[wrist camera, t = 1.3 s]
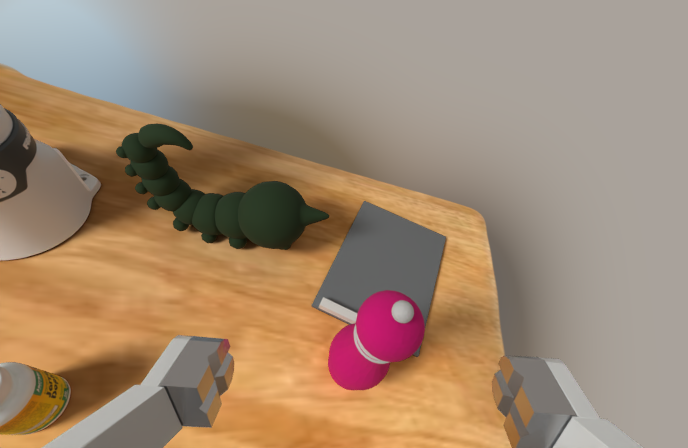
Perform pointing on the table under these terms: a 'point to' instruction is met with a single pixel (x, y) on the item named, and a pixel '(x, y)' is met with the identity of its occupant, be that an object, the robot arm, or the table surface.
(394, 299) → the magenta bowling pin
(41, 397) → the supplement bottle
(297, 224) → the toy figurine
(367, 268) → the grey rectangular board
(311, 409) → the table surface
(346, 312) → the grey stop strip
